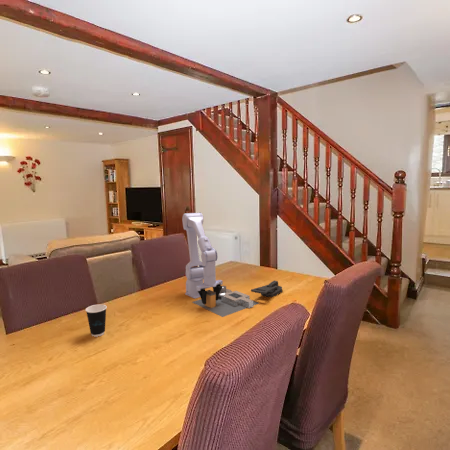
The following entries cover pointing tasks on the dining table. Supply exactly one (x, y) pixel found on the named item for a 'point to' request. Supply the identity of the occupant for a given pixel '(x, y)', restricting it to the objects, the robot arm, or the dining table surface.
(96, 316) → the dixie cup
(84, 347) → the dining table surface
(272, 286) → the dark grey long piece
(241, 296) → the scaffold node
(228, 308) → the site mat
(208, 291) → the orange grey two-tone block
